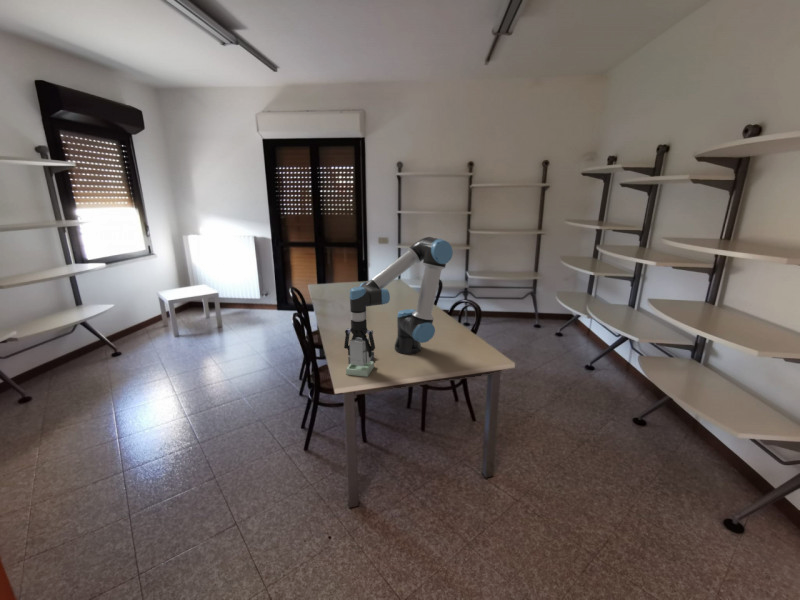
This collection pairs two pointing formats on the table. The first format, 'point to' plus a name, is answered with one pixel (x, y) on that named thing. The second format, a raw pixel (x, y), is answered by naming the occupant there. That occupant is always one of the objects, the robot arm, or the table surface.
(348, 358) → the dark gray open-sided tray
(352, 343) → the supplement box
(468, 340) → the table surface
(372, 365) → the trough tray
